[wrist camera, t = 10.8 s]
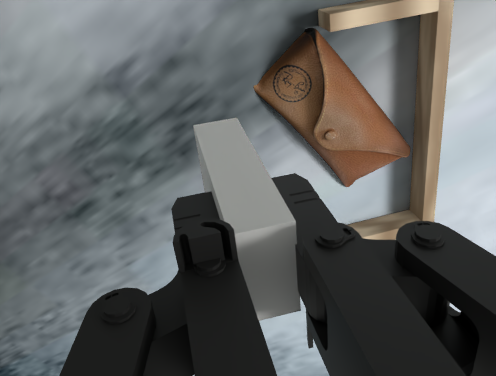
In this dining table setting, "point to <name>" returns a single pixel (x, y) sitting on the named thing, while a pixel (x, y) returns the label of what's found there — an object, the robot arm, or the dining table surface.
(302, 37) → the sunglasses case
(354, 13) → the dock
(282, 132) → the dining table surface
